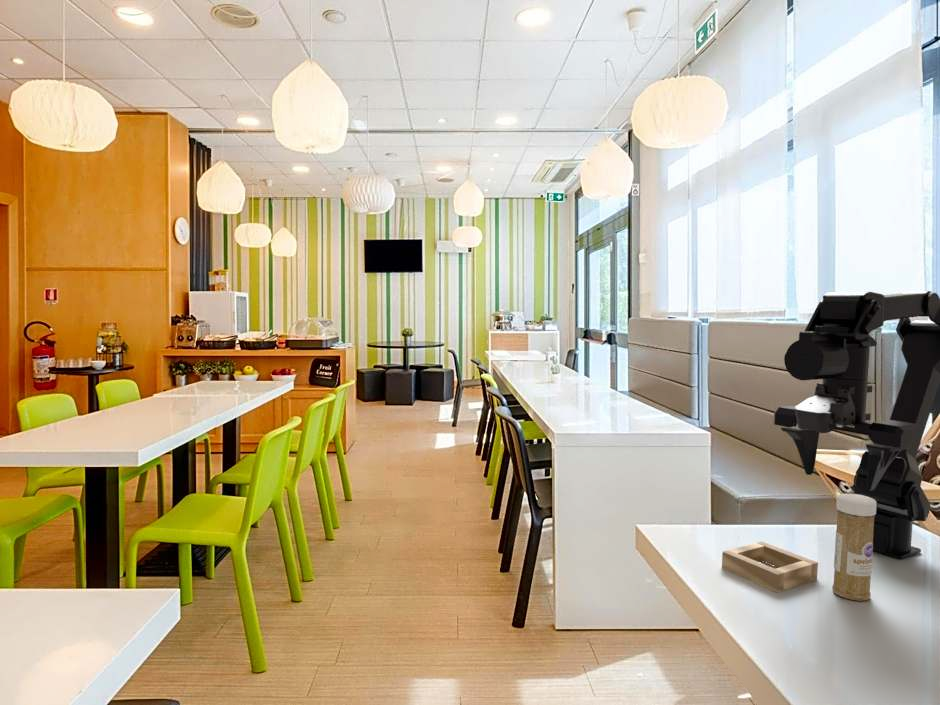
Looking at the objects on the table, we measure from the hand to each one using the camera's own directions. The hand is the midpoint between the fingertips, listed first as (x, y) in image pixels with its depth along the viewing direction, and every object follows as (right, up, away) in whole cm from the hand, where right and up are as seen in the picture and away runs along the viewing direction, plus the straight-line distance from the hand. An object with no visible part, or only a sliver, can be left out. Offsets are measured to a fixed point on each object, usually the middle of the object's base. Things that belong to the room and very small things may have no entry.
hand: (838, 482), depth 94 cm
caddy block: (-11, -13, -2) cm, 17 cm away
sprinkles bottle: (-3, -14, -8) cm, 16 cm away
